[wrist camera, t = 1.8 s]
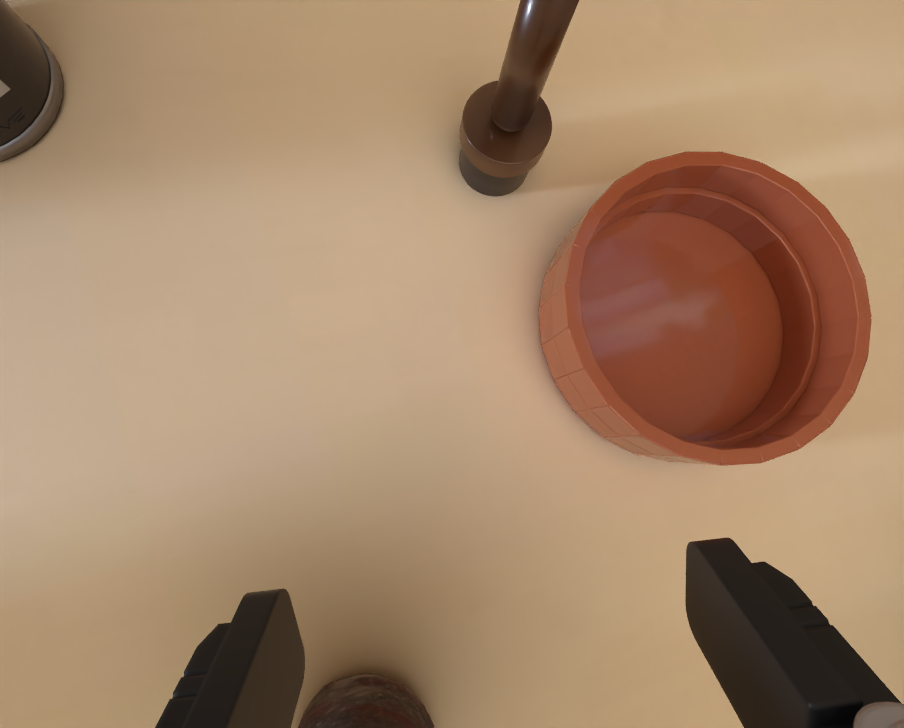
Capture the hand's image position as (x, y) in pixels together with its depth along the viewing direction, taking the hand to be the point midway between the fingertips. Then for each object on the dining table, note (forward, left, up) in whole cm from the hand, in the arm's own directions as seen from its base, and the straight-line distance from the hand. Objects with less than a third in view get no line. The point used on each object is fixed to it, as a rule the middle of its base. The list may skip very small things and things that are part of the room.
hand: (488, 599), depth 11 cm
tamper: (-15, +15, -21) cm, 29 cm away
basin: (-1, +18, -21) cm, 27 cm away
